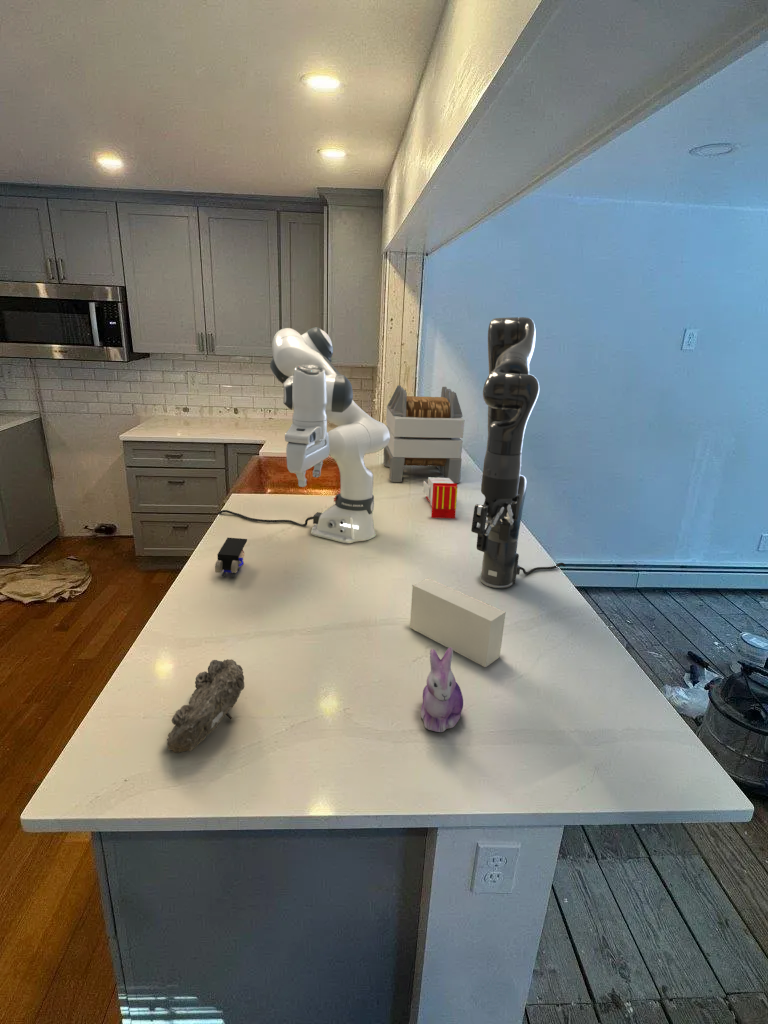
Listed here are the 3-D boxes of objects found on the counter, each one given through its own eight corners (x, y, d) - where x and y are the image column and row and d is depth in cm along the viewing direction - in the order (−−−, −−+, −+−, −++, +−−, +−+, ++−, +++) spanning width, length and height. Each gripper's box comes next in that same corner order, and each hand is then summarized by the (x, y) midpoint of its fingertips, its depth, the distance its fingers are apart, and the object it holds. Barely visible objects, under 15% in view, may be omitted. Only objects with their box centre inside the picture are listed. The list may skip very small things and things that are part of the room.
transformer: (382, 463, 289) (386, 382, 275) (445, 464, 293) (451, 384, 279) (390, 482, 257) (394, 392, 243) (460, 483, 261) (468, 394, 247)
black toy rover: (238, 584, 162) (249, 557, 175) (236, 562, 158) (247, 536, 172) (215, 584, 161) (227, 556, 175) (212, 561, 158) (225, 535, 171)
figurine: (434, 741, 104) (440, 672, 99) (407, 708, 113) (411, 643, 108) (476, 726, 108) (484, 660, 103) (446, 695, 117) (452, 632, 112)
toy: (450, 473, 241) (461, 484, 212) (448, 504, 244) (459, 519, 214) (421, 472, 240) (429, 483, 211) (420, 503, 243) (427, 518, 214)
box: (409, 627, 141) (412, 584, 137) (424, 619, 145) (428, 577, 141) (485, 667, 127) (491, 621, 123) (499, 657, 131) (505, 611, 127)
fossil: (192, 660, 117) (244, 628, 112) (224, 691, 120) (276, 661, 115) (142, 746, 98) (202, 712, 93) (182, 779, 101) (242, 748, 96)
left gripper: (314, 422, 156) (314, 470, 161) (281, 436, 138) (282, 490, 143) (335, 424, 155) (334, 472, 160) (305, 438, 136) (305, 493, 141)
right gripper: (498, 483, 109) (489, 560, 114) (535, 470, 119) (525, 542, 124) (466, 474, 114) (459, 548, 119) (504, 463, 123) (496, 532, 129)
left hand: (309, 481), depth 151 cm, fingers open, 8 cm apart
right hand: (492, 545), depth 122 cm, fingers open, 8 cm apart
